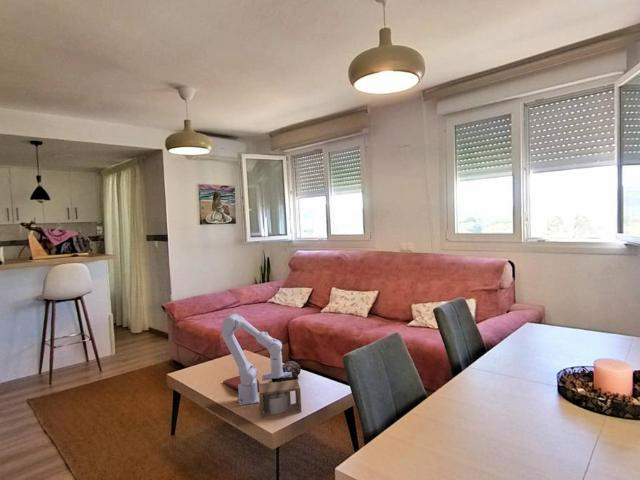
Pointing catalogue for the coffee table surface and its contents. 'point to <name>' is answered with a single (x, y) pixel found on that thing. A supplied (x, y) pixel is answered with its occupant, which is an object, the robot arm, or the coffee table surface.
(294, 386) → the walnut shelf
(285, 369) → the pine cone
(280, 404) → the lumpy-topped squat cylinder
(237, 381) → the carton
